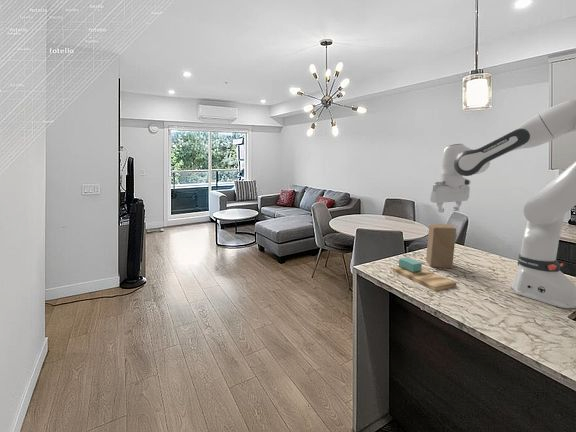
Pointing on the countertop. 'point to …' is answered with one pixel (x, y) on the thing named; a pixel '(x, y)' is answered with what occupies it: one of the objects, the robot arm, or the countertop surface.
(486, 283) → the countertop surface
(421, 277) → the oak board
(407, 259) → the block
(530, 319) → the countertop surface
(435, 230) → the wooden block
